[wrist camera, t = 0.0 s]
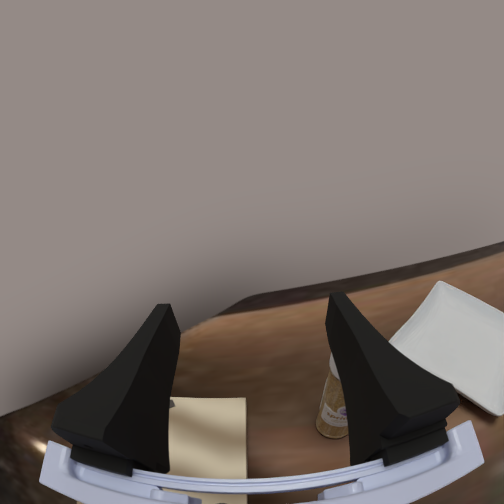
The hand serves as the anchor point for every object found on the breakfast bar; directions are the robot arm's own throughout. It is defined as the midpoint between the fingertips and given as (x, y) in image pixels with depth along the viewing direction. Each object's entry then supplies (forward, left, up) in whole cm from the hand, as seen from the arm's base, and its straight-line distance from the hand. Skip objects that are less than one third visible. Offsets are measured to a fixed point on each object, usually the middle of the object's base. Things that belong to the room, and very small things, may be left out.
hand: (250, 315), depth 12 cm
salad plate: (+10, -31, -22) cm, 39 cm away
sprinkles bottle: (+4, -8, -22) cm, 24 cm away
